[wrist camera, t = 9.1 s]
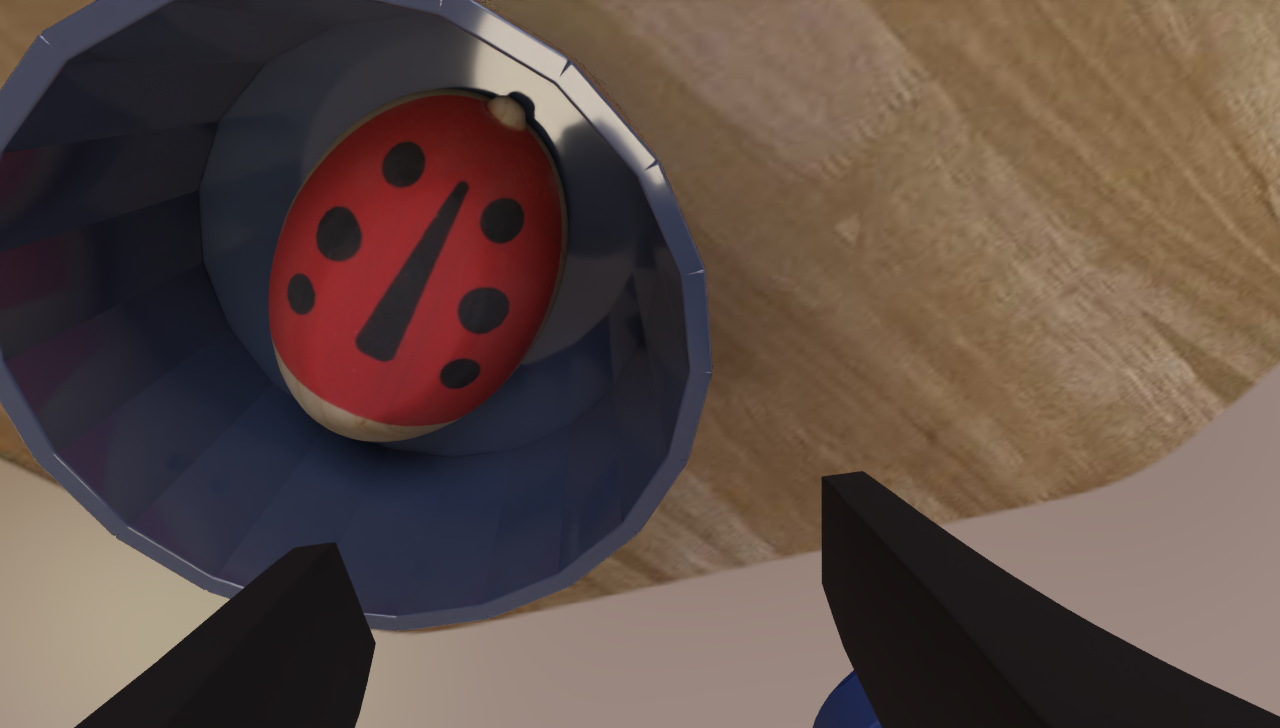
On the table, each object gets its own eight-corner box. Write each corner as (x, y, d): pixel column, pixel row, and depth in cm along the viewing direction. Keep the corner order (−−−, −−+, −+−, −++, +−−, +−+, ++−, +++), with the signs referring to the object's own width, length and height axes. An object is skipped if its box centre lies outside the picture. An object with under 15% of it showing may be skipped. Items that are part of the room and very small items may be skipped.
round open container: (687, 428, 21) (728, 588, 14) (289, 480, 21) (155, 664, 14) (644, -32, 15) (680, -98, 9) (108, 34, 15) (-235, 12, 9)
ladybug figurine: (249, 360, 18) (174, 424, 15) (372, 12, 15) (312, -2, 12) (473, 453, 20) (449, 528, 17) (628, 158, 17) (636, 181, 13)
